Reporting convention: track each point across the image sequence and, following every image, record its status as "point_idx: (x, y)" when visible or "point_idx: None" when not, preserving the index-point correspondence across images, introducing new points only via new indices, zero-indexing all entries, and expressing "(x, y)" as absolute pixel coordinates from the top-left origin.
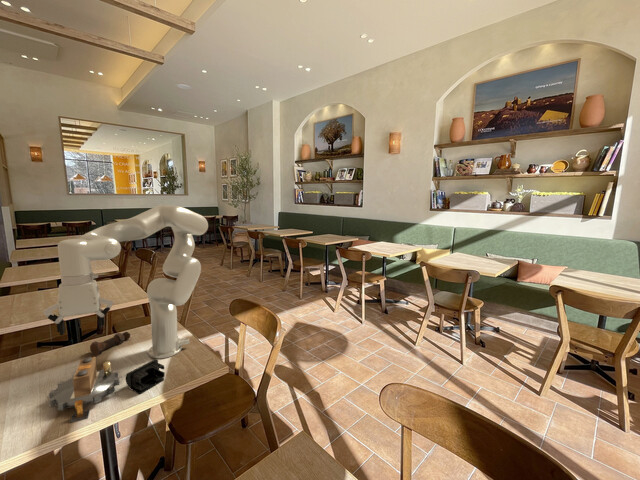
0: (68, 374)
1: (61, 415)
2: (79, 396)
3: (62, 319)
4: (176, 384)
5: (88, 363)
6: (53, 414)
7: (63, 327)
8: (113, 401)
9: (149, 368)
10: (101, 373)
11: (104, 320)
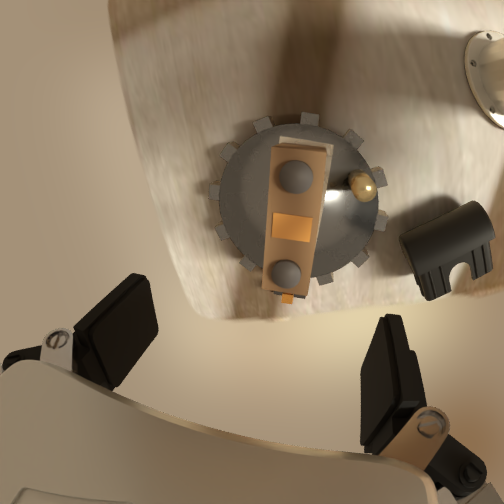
0: (238, 52)
1: None
2: None
3: (85, 361)
4: (481, 280)
5: (302, 201)
6: None
7: (131, 338)
8: None
9: (463, 261)
10: (340, 158)
11: (416, 372)
